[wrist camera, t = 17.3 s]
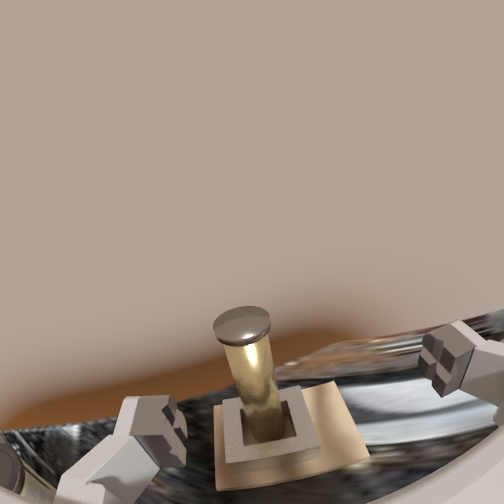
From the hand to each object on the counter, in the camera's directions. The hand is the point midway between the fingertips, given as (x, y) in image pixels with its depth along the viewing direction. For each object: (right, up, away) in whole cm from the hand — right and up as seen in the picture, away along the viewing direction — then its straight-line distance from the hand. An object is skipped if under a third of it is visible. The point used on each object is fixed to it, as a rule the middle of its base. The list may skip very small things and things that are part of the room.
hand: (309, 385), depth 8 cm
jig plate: (+3, -22, +27) cm, 35 cm away
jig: (+1, -23, +27) cm, 35 cm away
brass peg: (+1, -22, +27) cm, 35 cm away
